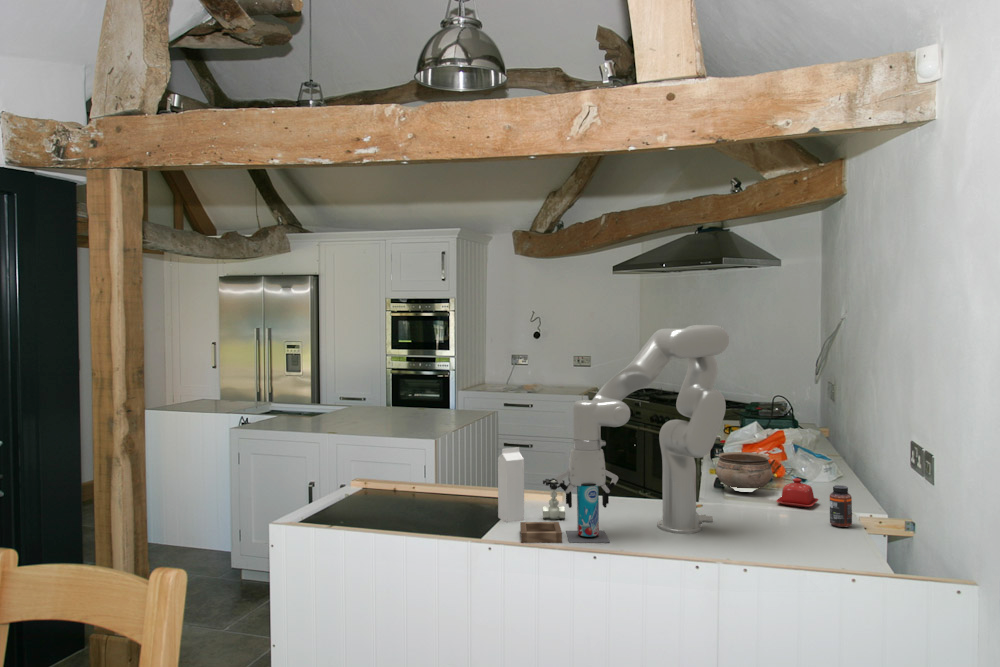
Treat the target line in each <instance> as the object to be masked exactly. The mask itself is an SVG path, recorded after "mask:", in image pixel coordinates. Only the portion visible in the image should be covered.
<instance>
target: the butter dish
mask: <svg viewBox="0 0 1000 667" xmlns="http://www.w3.org/2000/svg"><path fill="white" fill-rule="evenodd" d="M792 481H793V482H791V483H790V482H789V483H787V484H786V485H784V487H783V488H782V491H781V496H782V497H781V496H780V497H779V498H778V499H776V500H775V502H776V503H778V504H781V505H784V506H790V507H791V506H792V507H800V508H809V507H812V506H814V504H815V505H816V503H817V502H818V501H819V498H817V497H816V498H815V496H814V491H813V487H812V486H810V485H809V484H806V483H802V479H801V478H797V477H796V478H793V479H792Z"/></svg>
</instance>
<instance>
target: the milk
mask: <svg viewBox="0 0 1000 667" xmlns="http://www.w3.org/2000/svg"><path fill="white" fill-rule="evenodd" d="M497 496H498V497H497V499H498V500H497V501H498V502H497V506H498V508H497V512H498V514H497V517H498V519H499V520H502V521H503V520H504V521H503V522H505V523H512V522H519V521H521V522H522V521H525V458H524V457H523V456H522V453H521V452H520V446H518V447H517V446H515V447H505V448H502V449H501V454H500V455H498V457H497Z"/></svg>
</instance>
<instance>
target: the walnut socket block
mask: <svg viewBox="0 0 1000 667" xmlns="http://www.w3.org/2000/svg"><path fill="white" fill-rule="evenodd" d="M520 541H521V544H531V543H532V544H563V532H562V528H561V525H560V522H559V521H521V522H520Z"/></svg>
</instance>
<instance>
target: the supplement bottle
mask: <svg viewBox="0 0 1000 667" xmlns="http://www.w3.org/2000/svg"><path fill="white" fill-rule="evenodd" d="M852 498H853V497H852V495H851V494H850V493H849V487H848V486H847V485H840V484H839V485H838V484H837V485H835V484H834V485H833V486H832V492H831V493H830V494H829V523H830V524H831V526H834V527H839V528H847V527H851V526H852V524H853V513H852V512H853V509H852V508H853V507H852V506H853V502H852V501H853V499H852Z"/></svg>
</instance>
